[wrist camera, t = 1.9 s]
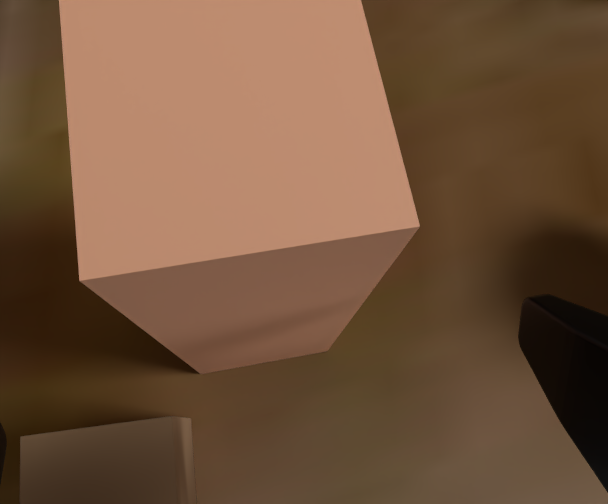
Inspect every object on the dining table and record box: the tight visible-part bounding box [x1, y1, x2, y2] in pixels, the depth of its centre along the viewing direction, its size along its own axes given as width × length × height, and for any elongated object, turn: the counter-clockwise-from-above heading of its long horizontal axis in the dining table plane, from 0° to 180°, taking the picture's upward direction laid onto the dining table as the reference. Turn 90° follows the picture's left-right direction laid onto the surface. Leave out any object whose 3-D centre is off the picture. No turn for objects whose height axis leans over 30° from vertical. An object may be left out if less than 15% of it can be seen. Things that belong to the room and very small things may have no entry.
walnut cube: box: [20, 416, 197, 504], centre depth 16 cm, size 4×4×4 cm
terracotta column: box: [59, 0, 420, 374], centre depth 14 cm, size 4×4×13 cm
